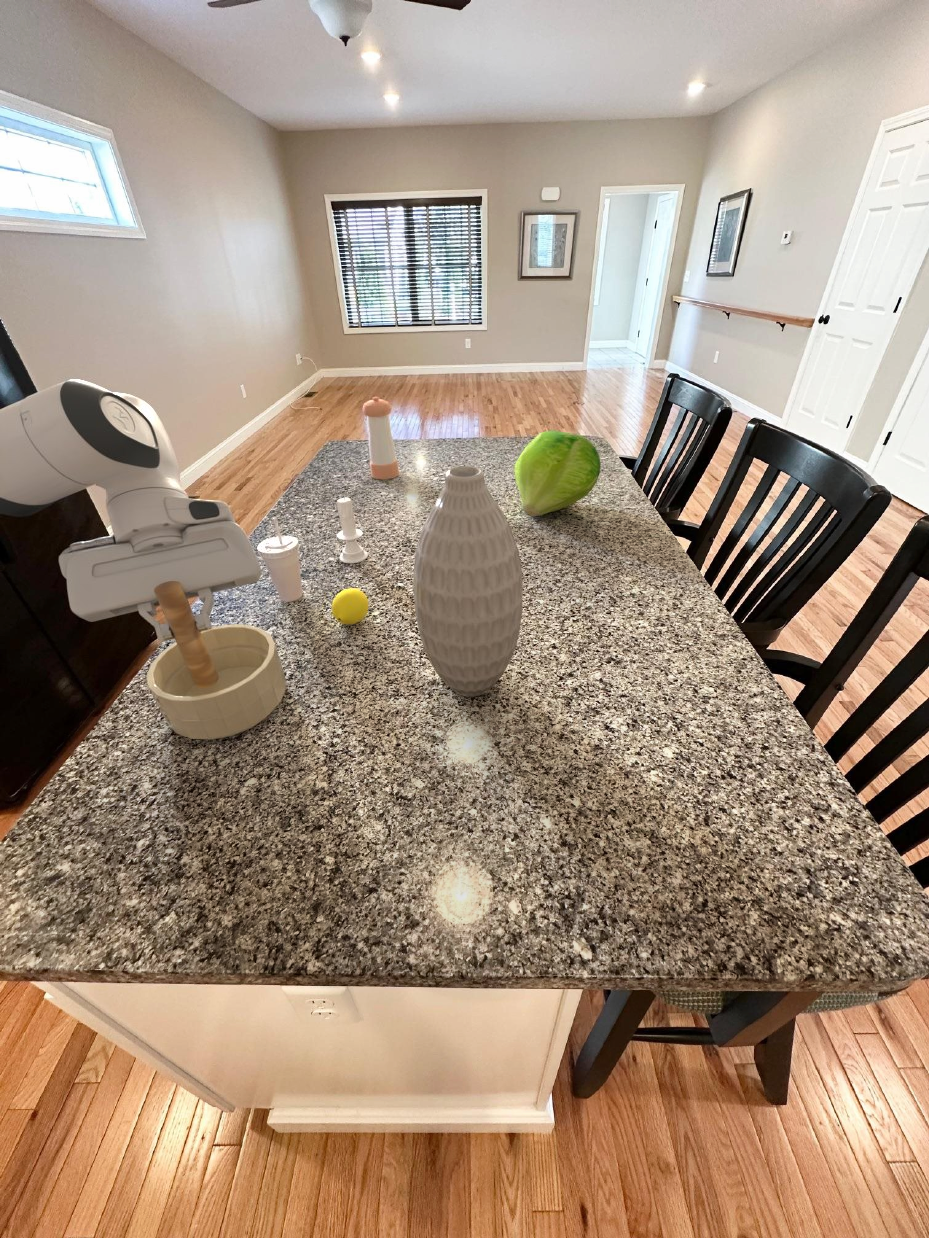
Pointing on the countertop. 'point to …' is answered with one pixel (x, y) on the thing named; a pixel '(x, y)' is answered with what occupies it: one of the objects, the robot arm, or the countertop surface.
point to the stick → (186, 633)
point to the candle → (349, 533)
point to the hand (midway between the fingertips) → (186, 634)
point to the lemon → (350, 606)
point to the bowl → (220, 684)
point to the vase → (468, 585)
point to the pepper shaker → (380, 439)
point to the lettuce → (556, 471)
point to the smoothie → (283, 564)
